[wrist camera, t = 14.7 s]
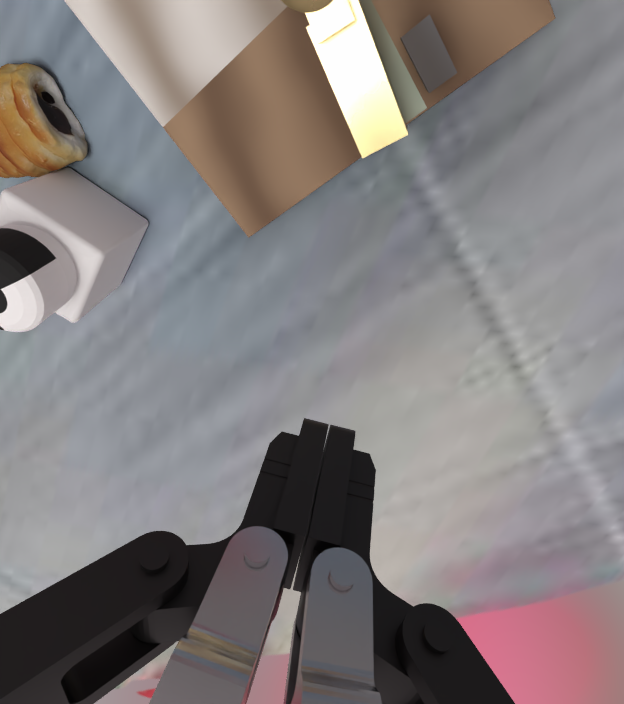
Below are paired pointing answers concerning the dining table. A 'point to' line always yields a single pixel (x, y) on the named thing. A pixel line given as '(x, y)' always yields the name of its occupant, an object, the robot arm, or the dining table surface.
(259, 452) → the dining table surface
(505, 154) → the dining table surface
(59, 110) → the pastry
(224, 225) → the dining table surface
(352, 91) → the latch bar
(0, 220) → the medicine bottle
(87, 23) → the door board
